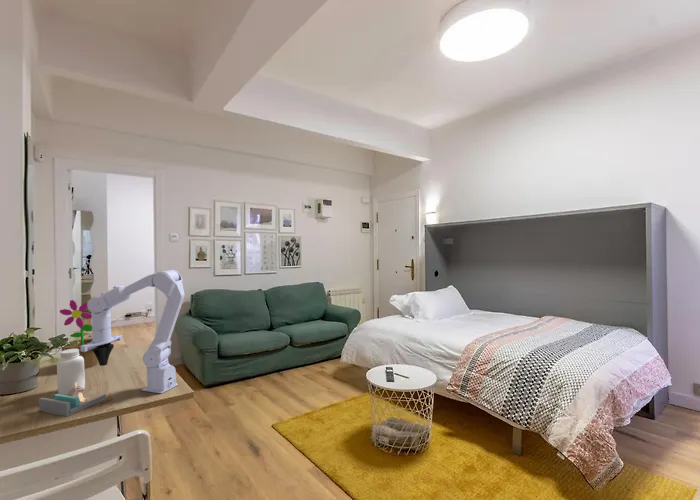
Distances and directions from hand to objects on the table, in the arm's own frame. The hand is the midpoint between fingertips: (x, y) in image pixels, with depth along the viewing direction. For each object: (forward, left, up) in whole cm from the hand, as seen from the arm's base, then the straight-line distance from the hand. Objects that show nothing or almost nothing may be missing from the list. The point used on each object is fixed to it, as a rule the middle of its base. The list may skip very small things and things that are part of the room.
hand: (103, 365), depth 132 cm
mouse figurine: (+2, +11, -10) cm, 14 cm away
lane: (-1, +11, -9) cm, 14 cm away
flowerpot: (+33, -16, -10) cm, 38 cm away
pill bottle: (+11, +4, -10) cm, 15 cm away
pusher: (-1, +14, -9) cm, 16 cm away
